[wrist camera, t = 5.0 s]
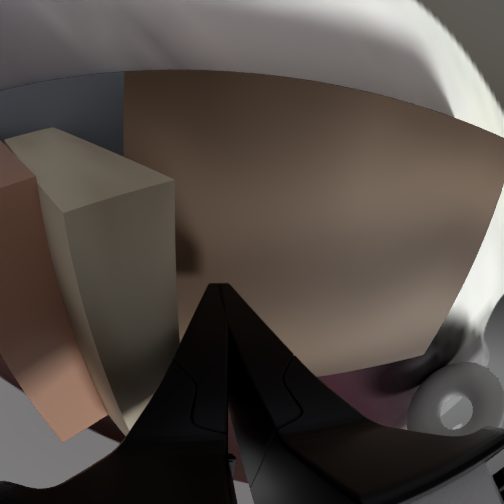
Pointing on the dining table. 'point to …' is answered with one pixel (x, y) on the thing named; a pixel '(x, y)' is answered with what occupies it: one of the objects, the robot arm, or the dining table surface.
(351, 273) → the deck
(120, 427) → the tile lower
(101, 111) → the mat
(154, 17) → the dining table surface
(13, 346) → the tile upper
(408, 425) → the donut
